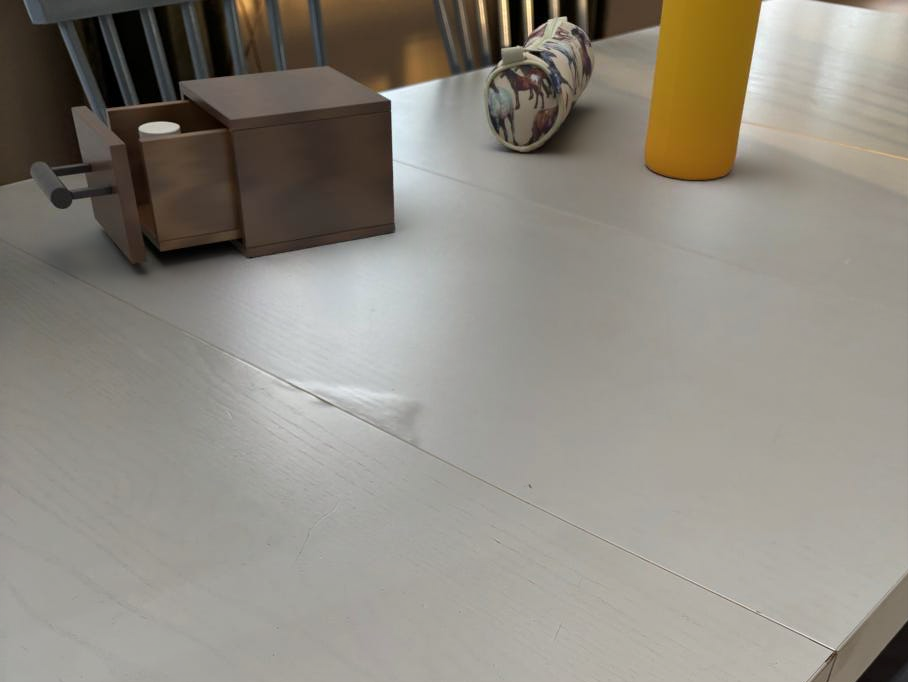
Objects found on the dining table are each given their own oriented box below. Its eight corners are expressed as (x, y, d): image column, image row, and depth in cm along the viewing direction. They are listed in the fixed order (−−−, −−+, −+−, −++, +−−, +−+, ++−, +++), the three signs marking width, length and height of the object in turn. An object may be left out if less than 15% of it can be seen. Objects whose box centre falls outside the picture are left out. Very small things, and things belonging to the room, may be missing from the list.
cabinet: (247, 258, 86) (230, 119, 79) (197, 210, 95) (178, 81, 88) (395, 232, 92) (391, 100, 85) (336, 189, 100) (328, 65, 93)
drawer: (73, 274, 81) (44, 153, 75) (39, 227, 88) (11, 113, 82) (281, 238, 87) (270, 125, 82) (233, 197, 95) (220, 90, 89)
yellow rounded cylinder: (752, 171, 107) (818, -190, 88) (690, 187, 103) (746, -189, 84) (685, 148, 113) (735, -197, 94) (624, 163, 108) (662, -196, 89)
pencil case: (559, 158, 109) (566, 52, 102) (479, 150, 110) (482, 45, 104) (592, 105, 125) (600, 11, 119) (522, 98, 126) (527, 5, 120)
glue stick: (160, 226, 86) (144, 134, 81) (149, 213, 88) (133, 124, 83) (198, 220, 87) (185, 129, 83) (186, 208, 89) (172, 119, 85)
